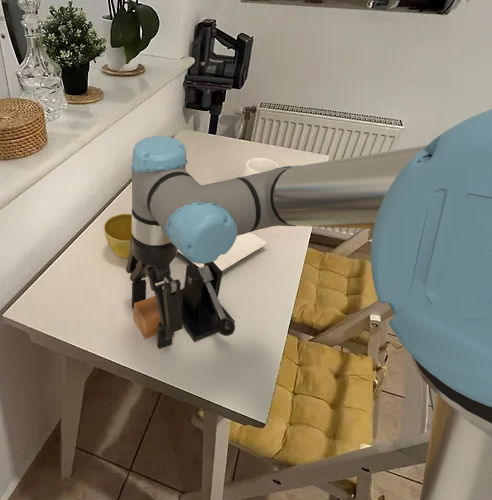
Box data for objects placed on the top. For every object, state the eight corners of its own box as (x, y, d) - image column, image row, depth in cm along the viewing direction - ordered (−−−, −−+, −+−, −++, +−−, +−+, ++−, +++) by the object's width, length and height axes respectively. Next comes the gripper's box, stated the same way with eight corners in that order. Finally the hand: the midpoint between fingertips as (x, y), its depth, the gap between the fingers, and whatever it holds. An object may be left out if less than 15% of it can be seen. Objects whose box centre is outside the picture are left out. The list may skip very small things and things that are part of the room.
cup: (234, 220, 109) (244, 171, 100) (236, 202, 116) (245, 155, 107) (268, 225, 108) (281, 176, 99) (268, 207, 114) (280, 159, 105)
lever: (233, 333, 78) (241, 330, 75) (218, 339, 77) (226, 336, 74) (204, 269, 81) (211, 263, 78) (190, 273, 80) (196, 268, 77)
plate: (154, 239, 103) (155, 232, 102) (209, 212, 112) (210, 206, 111) (210, 283, 92) (211, 276, 91) (266, 249, 101) (268, 242, 100)
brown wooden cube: (168, 330, 82) (170, 312, 79) (145, 339, 80) (145, 321, 77) (156, 312, 85) (157, 294, 82) (133, 320, 83) (133, 303, 80)
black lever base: (234, 325, 83) (244, 282, 75) (194, 342, 80) (201, 298, 72) (200, 286, 91) (207, 243, 84) (163, 299, 88) (166, 255, 80)
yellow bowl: (156, 248, 100) (158, 223, 96) (132, 272, 94) (132, 247, 89) (122, 232, 105) (121, 208, 100) (96, 254, 98) (94, 230, 94)
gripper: (215, 270, 62) (199, 362, 76) (144, 192, 77) (142, 281, 92) (169, 286, 59) (161, 378, 73) (106, 202, 75) (109, 292, 89)
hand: (151, 324), depth 82 cm, fingers open, 10 cm apart
